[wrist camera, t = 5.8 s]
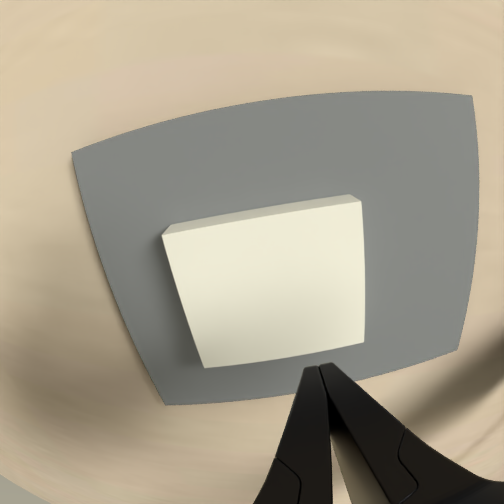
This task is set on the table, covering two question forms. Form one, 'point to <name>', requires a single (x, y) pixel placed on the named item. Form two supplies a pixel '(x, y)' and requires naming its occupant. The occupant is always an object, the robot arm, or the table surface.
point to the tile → (272, 280)
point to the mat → (289, 191)
